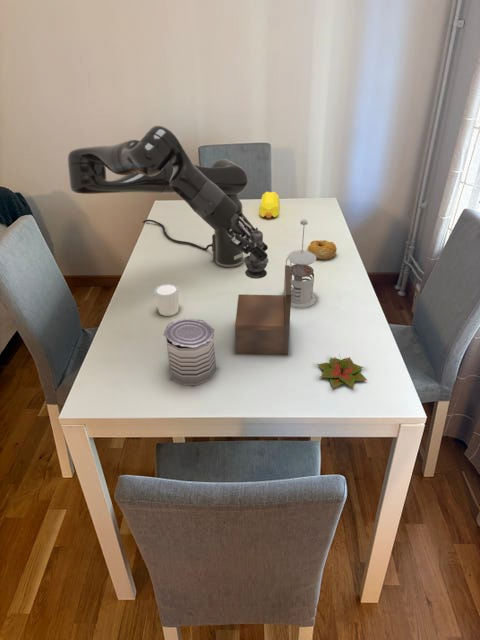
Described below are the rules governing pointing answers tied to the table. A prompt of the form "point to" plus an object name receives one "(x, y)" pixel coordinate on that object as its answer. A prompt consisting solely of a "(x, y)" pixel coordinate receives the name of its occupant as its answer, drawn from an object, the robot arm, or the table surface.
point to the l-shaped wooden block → (264, 322)
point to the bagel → (322, 249)
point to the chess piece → (254, 263)
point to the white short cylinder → (167, 299)
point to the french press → (302, 289)
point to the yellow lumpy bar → (269, 205)
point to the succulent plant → (341, 371)
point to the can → (190, 351)
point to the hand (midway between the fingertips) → (264, 254)
